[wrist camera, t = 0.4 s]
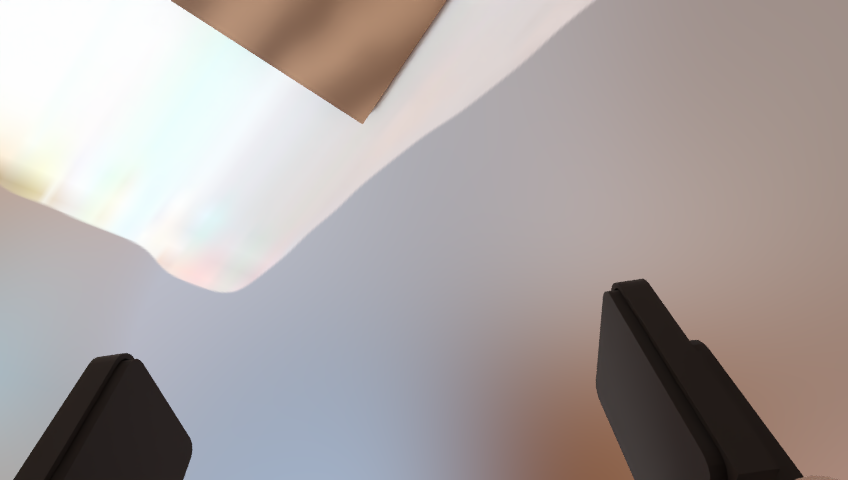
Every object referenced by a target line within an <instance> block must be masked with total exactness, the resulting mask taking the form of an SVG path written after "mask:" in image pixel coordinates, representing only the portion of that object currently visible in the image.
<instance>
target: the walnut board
mask: <svg viewBox="0 0 848 480" xmlns="http://www.w3.org/2000/svg"><path fill="white" fill-rule="evenodd" d="M171 1H172V2H174V3H176V4H177V5H179V6H180V7H182V8H183V9H185V10H186V11H188V12H190V13H191V14H193V15H194V16H196V17H197V18H199V19H200V20H202V21H203V22H205V23H207V24H208V25H210V26H211V27H213V28H214V29H216V30H217V31H219V32H221V33H222V34H224V35H225V36H227V37H228V38H230V39H231V40H233V41H234V42H236V43H238V44H239V45H241V46H242V47H244V48H245V49H247V50H248V51H250V52H252V53H253V54H255V55H256V56H258V57H259V58H261V59H262V60H264V61H265V62H267V63H269V64H270V65H272V66H273V67H275V68H276V69H278V70H279V71H281V72H282V73H284V74H286V75H287V76H289V77H290V78H292V79H293V80H295V81H296V82H298V83H300V84H301V85H303V86H304V87H306V88H307V89H309V90H310V91H312V92H313V93H315V94H317V95H318V96H320V97H321V98H323V99H324V100H326V101H327V102H329V103H331V104H332V105H334V106H335V107H337V108H338V109H340V110H341V111H343V112H344V113H346V114H348V115H349V116H351V117H352V118H354V119H355V120H357V121H358V122H360V123H361V124H363V123H364V121H365V120H366V118H367V117H368V115H369V114H370V112H371V111H372V110H373V108H374V107H375V105H376V104H377V102H378V101H379V99H380V98H381V96H382V95H383V93H384V92H385V90H386V89H387V87H388V86H389V84H390V83H391V82H392V80H393V79H394V77H395V76H396V74H397V73H398V71H399V70H400V68H401V67H402V65H403V64H404V62H405V61H406V59H407V58H408V57H409V55H410V54H411V52H412V51H413V49H414V48H415V46H416V45H417V43H418V42H419V40H420V39H421V37H422V36H423V34H424V33H425V31H426V30H427V29H428V27H429V26H430V24H431V23H432V21H433V20H434V18H435V17H436V15H437V14H438V12H439V11H440V9H441V8H442V6H443V5H444V4H445V2H446V1H447V0H171Z"/></svg>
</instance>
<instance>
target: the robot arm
mask: <svg viewBox="0 0 848 480" xmlns="http://www.w3.org/2000/svg"><path fill="white" fill-rule="evenodd" d="M596 389H597V393H598V397H599V400H600V402H601V405H602V406H603V409H604V411H605V414H606V416H607V418H608V420H609V423H610V425H611V427H612V429H613V432H614V434H615V436H616V438H617V441H618V443H619V445H620V448H621V450H622V452H623V455H624V457H625V459H626V461H627V464H628V466H629V468H630V471H631V473H632V475H633V477H634V479H635V480H838V479H834V478H831V477H824V476H807V477H803V475H802V474H801V473H800V471H799V470H798V469H797V467H796V466H795V464H794V463H793V462H792V460H791V459H790V458H789V456H788V455H787V454H786V452H785V451H784V450H783V448H782V447H781V446H780V445H779V443H778V442H777V440H776V439H775V437H774V436H773V435H772V434H771V432H770V431H769V429H768V428H767V427H766V425H765V424H764V423H763V422H762V420H761V419H760V417H759V416H758V415H757V413H756V412H755V410H754V409H753V408H752V406H751V405H750V404H749V402H748V401H747V400H746V398H745V397H744V396H743V394H742V393H741V392H740V390H739V389H738V388H737V386H736V385H735V383H734V382H733V381H732V379H731V378H730V377H729V375H728V374H727V373H726V372H725V370H724V369H723V367H722V366H721V365H720V363H719V362H718V361H717V359H716V358H715V356H714V355H713V354H712V353H711V351H710V350H709V349H708V348H707V347H706V345H705V344H704V343H702V342H700V341H699V340H691V341H689V339H688V338H687V337H686V335H685V334H684V333H683V331H682V330H681V328H680V327H679V325H678V324H677V323H676V321H675V320H674V318H673V317H672V316H671V314H670V313H669V311H668V310H667V308H666V307H665V306H664V304H663V303H662V301H661V300H660V299H659V297H658V296H657V294H656V293H655V292H654V290H653V289H652V287H651V286H650V284H649V283H648V282H647V281H646V280H644V279H639V280H632V281H625V282H618V283H614V284H613V285H612V289H611V291H607V292H605V293H604V295H603V304H602V315H601V327H600V339H599V351H598V363H597V375H596ZM191 455H192V442H191V440H190V437H189V436H188V434H187V432H186V431H185V429H184V428H183V426H182V425H181V423H180V421H179V420H178V418H177V417H176V415H175V413H174V412H173V410H172V409H171V407H170V406H169V404H168V402H167V401H166V399H165V398H164V396H163V395H162V393H161V391H160V390H159V388H158V387H157V385H156V383H155V382H154V380H153V379H152V377H151V375H150V374H149V372H148V371H147V369H146V368H145V366H144V364H143V363H142V362H141V361H140V360H138V359H134V358H133V356H132V355H130V354H128V353H124V354H116V355H110V356H102V357H97V358H95V359H93V360H92V361H91V362H90V364H89V365H88V366H87V368H86V369H85V371H84V372H83V374H82V376H81V377H80V379H79V380H78V382H77V383H76V385H75V387H74V388H73V389H72V391H71V392H70V394H69V395H68V397H67V398H66V400H65V401H64V403H63V405H62V406H61V408H60V409H59V411H58V412H57V414H56V415H55V417H54V419H53V420H52V421H51V423H50V424H49V426H48V427H47V429H46V431H45V432H44V434H43V435H42V437H41V438H40V440H39V441H38V443H37V444H36V446H35V447H34V449H33V450H32V452H31V453H30V455H29V457H28V458H27V460H26V461H25V463H24V464H23V466H22V467H21V469H20V470H19V472H18V473H17V475H16V477H15V478H14V479H13V480H183V479H184V476H185V473H186V470H187V467H188V464H189V462H190V459H191Z"/></svg>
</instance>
